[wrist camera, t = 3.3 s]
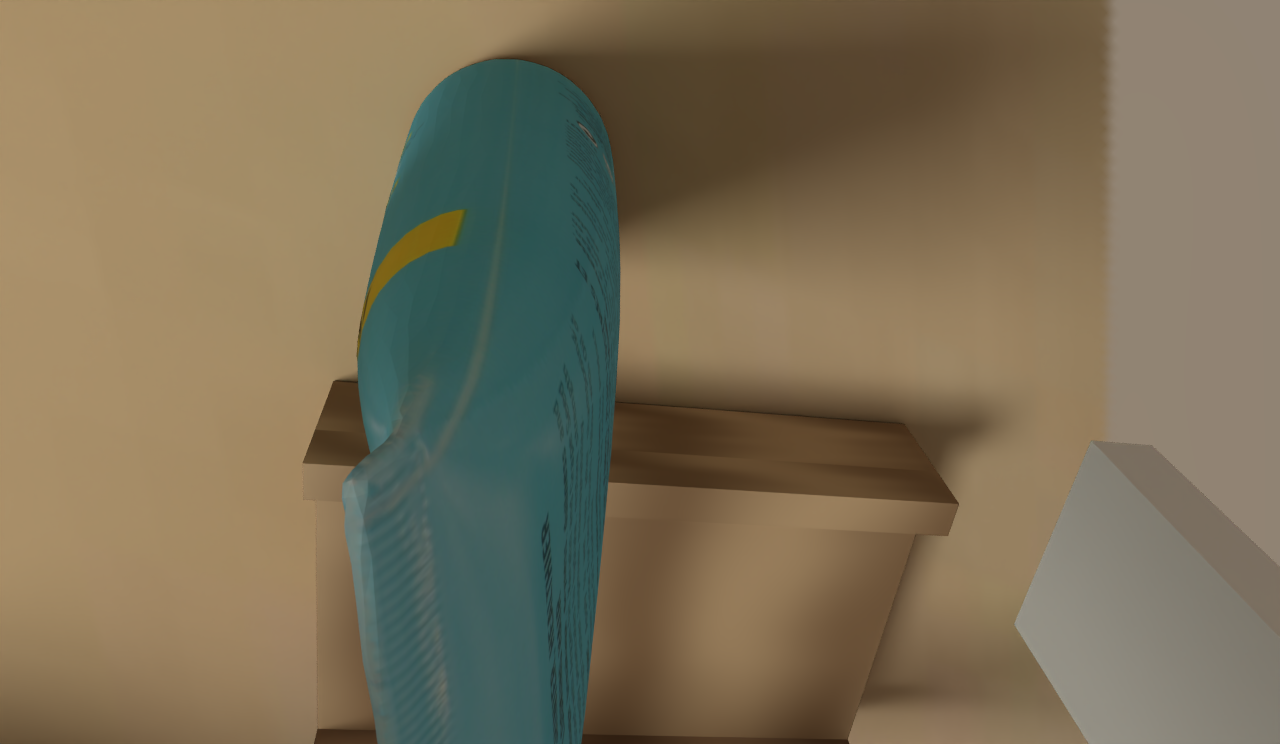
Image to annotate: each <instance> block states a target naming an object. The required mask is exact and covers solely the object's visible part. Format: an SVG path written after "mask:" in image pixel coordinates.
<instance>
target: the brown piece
mask: <svg viewBox="0 0 1280 744" xmlns="http://www.w3.org/2000/svg"><path fill="white" fill-rule="evenodd" d="M369 454H370V450H369V446H368V441H367V437H366V433H365V428H364V424H363V418H362V411H361V404H360V397H359V389H358V383H352V382H339V381H333V384H332V387H331V389H330V392H329V395H328V397H327V400H326V403H325V405H324V408H323V410H322V413H321V416H320V418H319V421H318V424H317V426H316V429H315V432H314V434H313V437H312V440H311V442H310V445H309V448H308V450H307V453H306V456H305V458H304V461H303V500H316V587H317V718H318V729H317V733H316V738H315V742H314V744H378V743H377V736H376V728H375V720H374V715H373V710H372V705H371V700H370V695H369V690H368V685H367V680H366V675H365V670H364V665H363V659H362V650H361V641H360V632H359V623H358V614H357V606H356V598H355V590H354V582H353V574H352V566H351V561H350V556H349V551H348V546H347V541H346V536H345V527H344V523H345V510H344V506H343V501H342V485H343V482H344V481H345V479H346V478H347V476H348V475H349V474H350V472H351V471H352V470H353V469H354V468H355V467H356V466H357V465H358V464H359V463H360V462H361V461H362V460H363V459H364V458H365V457H366V456H367V455H369ZM958 506H959V503H958V502H957V500H956V499H955V497H954V496H953V494H952V493H951V491H950V490H949V489H948V487H947V486H946V484H945V483H944V481H943V480H942V478H941V477H940V475H939V474H938V473H937V471H936V470H935V468H934V467H933V465H932V464H931V462H930V461H929V459H928V458H927V456H926V455H925V454H924V452H923V451H922V449H921V448H920V446H919V445H918V443H917V442H916V440H915V439H914V438H913V436H912V435H911V433H910V432H909V430H908V429H907V427H906V426H905V424H896V423H882V422H869V421H856V420H843V419H829V418H816V417H803V416H790V415H776V414H763V413H750V412H737V411H723V410H710V409H697V408H684V407H670V406H657V405H644V404H631V403H617V402H615V407H614V421H613V434H612V448H611V460H610V471H609V481H608V492H607V503H606V513H605V524H604V534H603V545H602V555H601V565H600V576H599V586H598V595H597V605H596V614H595V624H594V633H593V643H592V653H591V662H590V672H589V681H588V691H587V700H586V710H585V718H584V726H583V734H582V741H581V744H849V742H848V737H849V734H850V731H851V728H852V725H853V722H854V719H855V716H856V713H857V710H858V707H859V704H860V701H861V698H862V695H863V692H864V689H865V686H866V683H867V680H868V677H869V674H870V671H871V668H872V665H873V662H874V659H875V656H876V653H877V650H878V647H879V644H880V641H881V638H882V635H883V632H884V629H885V626H886V623H887V620H888V617H889V614H890V611H891V608H892V605H893V602H894V599H895V596H896V593H897V590H898V587H899V584H900V581H901V578H902V575H903V572H904V569H905V566H906V563H907V560H908V557H909V554H910V551H911V548H912V545H913V542H914V539H915V536H916V534H921V535H939V536H948V534H949V532H950V529H951V526H952V523H953V520H954V517H955V515H956V512H957V509H958Z"/></svg>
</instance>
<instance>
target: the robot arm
mask: <svg viewBox="0 0 1280 744" xmlns="http://www.w3.org/2000/svg"><path fill="white" fill-rule="evenodd" d="M1014 625H1015V627H1016V628H1017V630H1018V631H1019V633H1020V635H1021V636H1022V638H1023V639H1024V641H1025V643H1026V644H1027V646H1028V647H1029V649H1030V651H1031V652H1032V654H1033V655H1034V657H1035V659H1036V660H1037V662H1038V663H1039V665H1040V667H1041V668H1042V670H1043V671H1044V673H1045V675H1046V676H1047V678H1048V679H1049V681H1050V683H1051V684H1052V686H1053V687H1054V689H1055V691H1056V692H1057V694H1058V695H1059V697H1060V699H1061V700H1062V702H1063V703H1064V705H1065V707H1066V708H1067V710H1068V711H1069V713H1070V715H1071V716H1072V718H1073V719H1074V721H1075V723H1076V724H1077V726H1078V727H1079V729H1080V731H1081V732H1082V734H1083V735H1084V737H1085V739H1086V740H1087V742H1088V743H1089V744H1280V567H1279V566H1278V565H1277V564H1276V563H1275V562H1274V561H1273V560H1272V559H1271V558H1270V557H1269V556H1268V555H1267V554H1266V553H1265V552H1264V551H1262V550H1261V549H1260V548H1259V547H1258V546H1257V545H1256V544H1255V543H1254V542H1253V541H1252V540H1251V539H1250V538H1249V537H1248V536H1247V535H1246V534H1245V533H1243V532H1242V531H1241V530H1240V529H1239V528H1238V527H1237V526H1236V525H1235V524H1234V523H1233V522H1232V521H1231V520H1230V519H1229V518H1228V517H1227V516H1226V515H1224V513H1222V512H1221V511H1220V510H1219V509H1218V508H1217V507H1216V506H1215V505H1214V504H1213V503H1212V502H1211V501H1210V500H1209V499H1208V498H1207V497H1206V496H1204V494H1203V493H1202V492H1200V491H1199V490H1198V489H1197V488H1196V487H1195V486H1194V485H1193V484H1192V483H1191V482H1190V481H1189V480H1188V479H1187V478H1186V477H1185V476H1184V475H1183V474H1182V473H1180V472H1179V471H1178V470H1177V469H1176V468H1175V467H1174V466H1173V465H1172V464H1171V463H1170V462H1169V461H1168V460H1167V459H1166V458H1165V457H1164V456H1163V455H1162V454H1160V453H1159V452H1158V451H1157V450H1156V449H1155V448H1154V447H1153V446H1152V445H1139V444H1127V443H1115V442H1102V441H1091V443H1090V445H1089V447H1088V450H1087V452H1086V455H1085V457H1084V459H1083V462H1082V464H1081V466H1080V469H1079V471H1078V474H1077V476H1076V478H1075V481H1074V483H1073V485H1072V488H1071V490H1070V493H1069V495H1068V497H1067V500H1066V502H1065V504H1064V507H1063V509H1062V512H1061V514H1060V516H1059V519H1058V521H1057V524H1056V526H1055V528H1054V531H1053V533H1052V535H1051V538H1050V540H1049V543H1048V545H1047V547H1046V550H1045V552H1044V554H1043V557H1042V559H1041V562H1040V564H1039V566H1038V569H1037V571H1036V573H1035V576H1034V578H1033V581H1032V583H1031V585H1030V588H1029V590H1028V592H1027V595H1026V597H1025V600H1024V602H1023V604H1022V607H1021V609H1020V611H1019V614H1018V616H1017V619H1016V621H1015V623H1014Z"/></svg>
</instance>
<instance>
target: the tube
mask: <svg viewBox="0 0 1280 744" xmlns="http://www.w3.org/2000/svg"><path fill="white" fill-rule="evenodd" d="M619 325H620V243H619V223H618V211H617V197H616V186H615V176H614V165H613V158H612V152H611V147H610V143H609V138H608V134H607V131H606V129H605V126H604V124H603V121H602V119H601V117H600V115H599V113H598V112H597V110H596V109H595V107H594V106H593V104H592V103H591V101H590V100H589V98H588V97H587V96H586V95H585V94H584V93H583V92H582V91H581V90H580V89H579V88H578V87H577V86H576V85H575V84H574V83H572V82H571V81H570V80H569V79H567V78H566V77H564V76H563V75H561V74H560V73H558V72H556V71H554V70H552V69H550V68H548V67H546V66H542V65H539V64H536V63H533V62H529V61H524V60H518V59H493V60H488V61H484V62H480V63H476V64H473V65H470V66H468V67H465V68H462V69H460V70H459V71H457V72H455V73H453V74H451V75H450V76H448V77H447V78H445V79H444V80H443V81H442V82H441V83H440V84H438V85H437V86H436V87H435V88H434V90H433V91H432V92H431V93H430V94H429V95H428V96H427V97H426V99H425V100H424V101H423V103H422V104H421V106H420V108H419V110H418V111H417V113H416V116H415V118H414V120H413V122H412V125H411V128H410V131H409V134H408V137H407V139H406V143H405V146H404V149H403V152H402V155H401V159H400V162H399V166H398V169H397V173H396V177H395V180H394V183H393V187H392V190H391V194H390V197H389V201H388V204H387V206H386V211H385V216H384V220H383V224H382V228H381V232H380V236H379V240H378V244H377V248H376V252H375V256H374V261H373V265H372V269H371V273H370V278H369V283H368V287H367V292H366V297H365V301H364V306H363V311H362V317H361V322H360V329H359V335H358V347H357V361H358V389H359V397H360V404H361V411H362V418H363V424H364V428H365V433H366V437H367V441H368V446H369V450H370V454H369V455H367V456H366V457H365V458H364V459H363V460H362V461H361V462H360V463H359V464H358V465H357V466H356V467H355V468H354V469H353V470H352V471H351V472H350V474H349V475H348V476H347V478H346V479H345V481H344V482H343V485H342V501H343V506H344V510H345V523H344V527H345V536H346V541H347V546H348V551H349V556H350V561H351V566H352V574H353V582H354V590H355V598H356V606H357V614H358V623H359V632H360V641H361V650H362V659H363V665H364V670H365V675H366V680H367V685H368V690H369V695H370V700H371V705H372V710H373V715H374V720H375V728H376V736H377V743H378V744H581V741H582V734H583V726H584V718H585V710H586V700H587V691H588V681H589V672H590V662H591V653H592V643H593V633H594V624H595V614H596V605H597V595H598V586H599V576H600V565H601V555H602V545H603V534H604V524H605V513H606V503H607V492H608V481H609V471H610V460H611V448H612V434H613V421H614V407H615V393H616V377H617V361H618V344H619Z"/></svg>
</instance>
